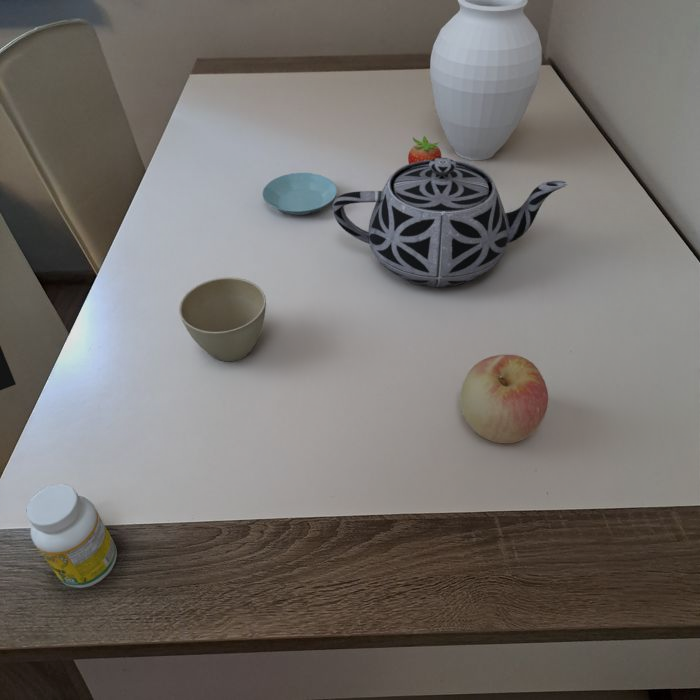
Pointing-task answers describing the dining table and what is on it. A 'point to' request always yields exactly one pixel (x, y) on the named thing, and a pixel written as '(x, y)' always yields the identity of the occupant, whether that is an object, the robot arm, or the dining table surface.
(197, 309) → the bowl
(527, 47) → the vase
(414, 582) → the dining table surface
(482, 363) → the apple
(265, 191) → the saucer
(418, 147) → the fruit
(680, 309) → the dining table surface
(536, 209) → the teapot
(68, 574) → the supplement bottle
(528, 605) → the dining table surface
